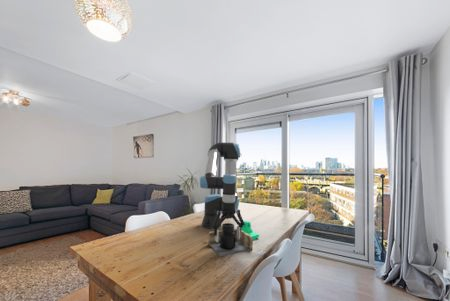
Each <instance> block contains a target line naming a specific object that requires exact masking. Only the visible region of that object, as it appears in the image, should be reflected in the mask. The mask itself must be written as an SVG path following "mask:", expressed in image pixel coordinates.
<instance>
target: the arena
mask: <svg viewBox="0 0 450 301" xmlns="http://www.w3.org/2000/svg"><path fill="white" fill-rule="evenodd" d="M221 233H222V230H219V236H218V242H216V241H215V235H214V231H209V232H208V245H209V246H210V247H211V248H212V249H213V251H214V252H215V253H217V255H218V256H221V257H222V256H225V255H230V254H231V255H232V254H236V253H243V252H247V251H252V250H253V248H254V247H253V241H254V240H253V237H252V236H250V235H249V234H247V233H245V232H244V231H242V230H241V233H240V239H238V238H237V228H234V233H235V235H236V246H235V248H234V249H223V248H221V247H220V234H221Z"/></svg>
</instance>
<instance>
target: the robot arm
mask: <svg viewBox="0 0 450 301" xmlns="http://www.w3.org/2000/svg"><path fill="white" fill-rule="evenodd" d="M208 149H209V150H208V152H207V157H208V158H207V163H206V166H205V172H204V175H203V176H200V178H199V187H200V188H201V189H206V190H207V189H208V190H212V189H215V190H216V189H217V190H222V196H221V194H216V193H215V194H214V193H213V194H208V195H206V196H205V197H204V211H203V212H204V213H203V214H204V215H203V218H202V221H201V226H202V227H203V228H207V229H212V230H213V232H214V235H215V241H216V242H218V236H219V231H220V230H219V228H220V227H222V224H223V223H224V221H225V220H226V219H227V220H228V219H232V220H233V221H234V223H235V224H237V226H236V229H237V238H238V239H240V233H241V227H243V226H244V225H245V224H244V221H245V220H244V219H243V216H242V214H241V210H240V209H239V205H240V196H238V194H237V191H236V190H237V187H236V186H237V162H238V161H239V158H241V149H240V144H239V143H238V142H224V141H223V142H221V141H220V142H216V143H214V144H213V145H212V146H211V147H210V148H208ZM220 158H223V161H225V164H224V165H225V167H224V168H225V169H224V170H225V172H224V173H225V174H223V176H217V173H218V172H217V171H218V165H219V159H220ZM235 214H236V216H237V217H236V216H235Z"/></svg>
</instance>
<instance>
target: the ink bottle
mask: <svg viewBox="0 0 450 301" xmlns="http://www.w3.org/2000/svg"><path fill="white" fill-rule="evenodd" d="M234 229H235V224H233V223H230V222H225V223H222V224H221V231H222V233H221V234H220V247H221V248H223V249H234V248H235V246H236V235H235V233H234Z"/></svg>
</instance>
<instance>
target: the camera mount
mask: <svg viewBox="0 0 450 301" xmlns="http://www.w3.org/2000/svg"><path fill="white" fill-rule="evenodd" d="M243 221H244V224H245V225H244V226H243V227H241V230H242V231H244V232H245V233H247V234H249V235H250V236H252V237H253V241H255V240H256V239H258V238H259V237H260V234H259V233H258V232H257V233H256V232H254V231H253V229H252V224H251V222H249V221H246V220H243Z"/></svg>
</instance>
